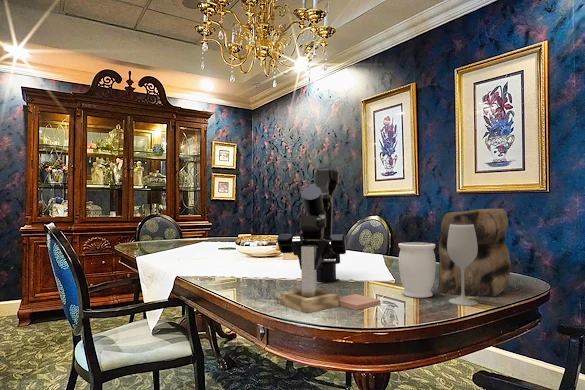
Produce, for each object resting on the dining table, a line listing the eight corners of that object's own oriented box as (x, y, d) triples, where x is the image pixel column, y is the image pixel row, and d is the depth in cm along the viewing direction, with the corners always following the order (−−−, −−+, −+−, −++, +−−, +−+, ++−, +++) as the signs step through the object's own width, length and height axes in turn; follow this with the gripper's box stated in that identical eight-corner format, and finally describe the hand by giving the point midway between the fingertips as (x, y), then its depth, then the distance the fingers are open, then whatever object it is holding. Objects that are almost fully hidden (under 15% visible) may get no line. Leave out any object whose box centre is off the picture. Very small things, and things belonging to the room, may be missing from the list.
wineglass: (482, 306, 102) (480, 225, 103) (450, 305, 104) (449, 225, 104) (474, 299, 110) (473, 223, 110) (445, 298, 111) (444, 223, 112)
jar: (417, 300, 109) (416, 246, 109) (391, 293, 118) (390, 243, 118) (444, 296, 114) (443, 244, 114) (417, 289, 123) (417, 241, 123)
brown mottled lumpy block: (508, 300, 108) (506, 209, 109) (432, 292, 119) (430, 209, 120) (514, 287, 125) (512, 208, 125) (446, 281, 136) (445, 208, 136)
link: (304, 293, 107) (303, 245, 108) (316, 293, 107) (316, 245, 107) (301, 295, 104) (301, 246, 104) (314, 296, 103) (314, 246, 104)
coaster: (355, 298, 112) (355, 294, 112) (380, 304, 105) (380, 299, 105) (332, 303, 107) (332, 298, 107) (356, 310, 100) (356, 305, 100)
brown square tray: (311, 298, 113) (311, 287, 113) (338, 305, 104) (338, 294, 104) (280, 304, 106) (280, 293, 106) (306, 313, 98) (306, 300, 98)
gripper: (278, 205, 112) (267, 249, 101) (344, 204, 108) (341, 250, 97) (285, 231, 119) (276, 274, 108) (347, 231, 115) (344, 276, 104)
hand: (308, 268), depth 104 cm, fingers closed on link, 3 cm apart
